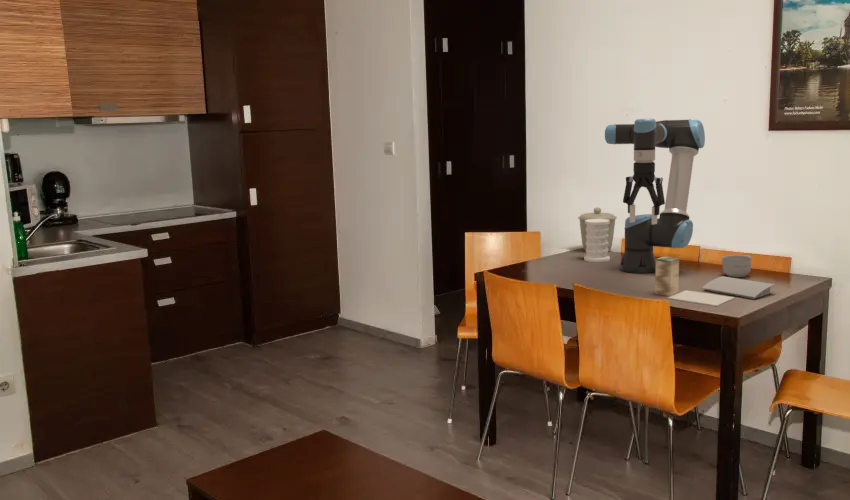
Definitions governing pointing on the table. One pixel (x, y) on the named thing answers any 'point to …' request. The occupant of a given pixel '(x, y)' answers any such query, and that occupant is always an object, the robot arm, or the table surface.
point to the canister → (597, 216)
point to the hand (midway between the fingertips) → (643, 223)
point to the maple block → (667, 276)
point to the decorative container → (597, 240)
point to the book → (738, 287)
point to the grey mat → (701, 298)
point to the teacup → (736, 265)
